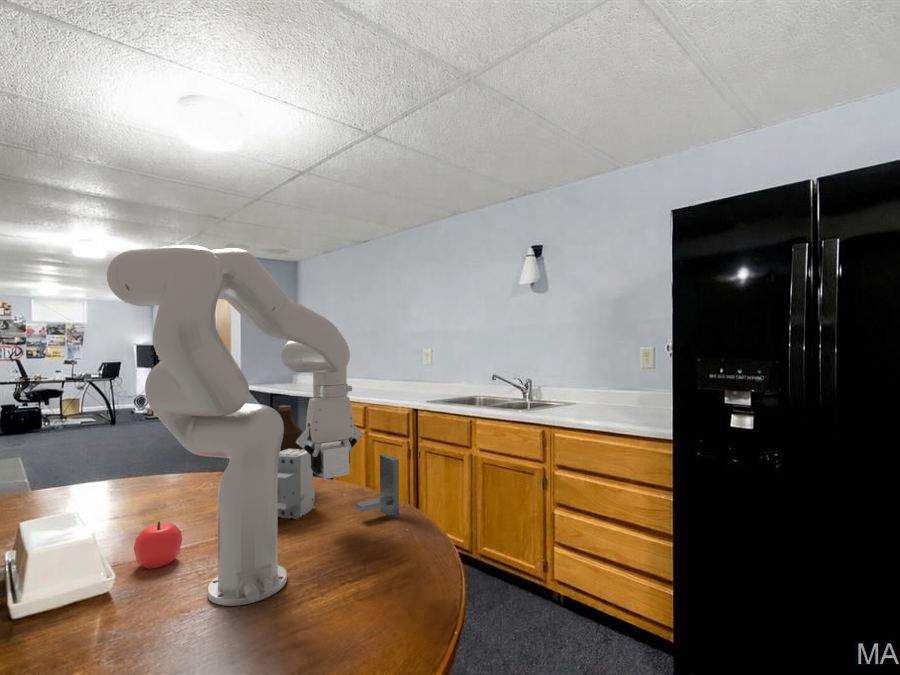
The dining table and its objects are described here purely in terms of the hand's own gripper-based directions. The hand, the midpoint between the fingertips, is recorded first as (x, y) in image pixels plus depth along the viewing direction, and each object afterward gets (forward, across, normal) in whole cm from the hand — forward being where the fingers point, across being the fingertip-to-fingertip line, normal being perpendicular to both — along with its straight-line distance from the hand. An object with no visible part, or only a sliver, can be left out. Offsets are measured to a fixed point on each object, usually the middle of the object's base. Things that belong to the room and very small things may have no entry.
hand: (330, 469), depth 105 cm
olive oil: (+14, +1, -32) cm, 35 cm away
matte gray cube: (+1, 0, 0) cm, 1 cm away
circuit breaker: (+14, +6, -14) cm, 20 cm away
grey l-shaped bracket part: (+13, -11, 0) cm, 17 cm away
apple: (+13, +33, -4) cm, 36 cm away
